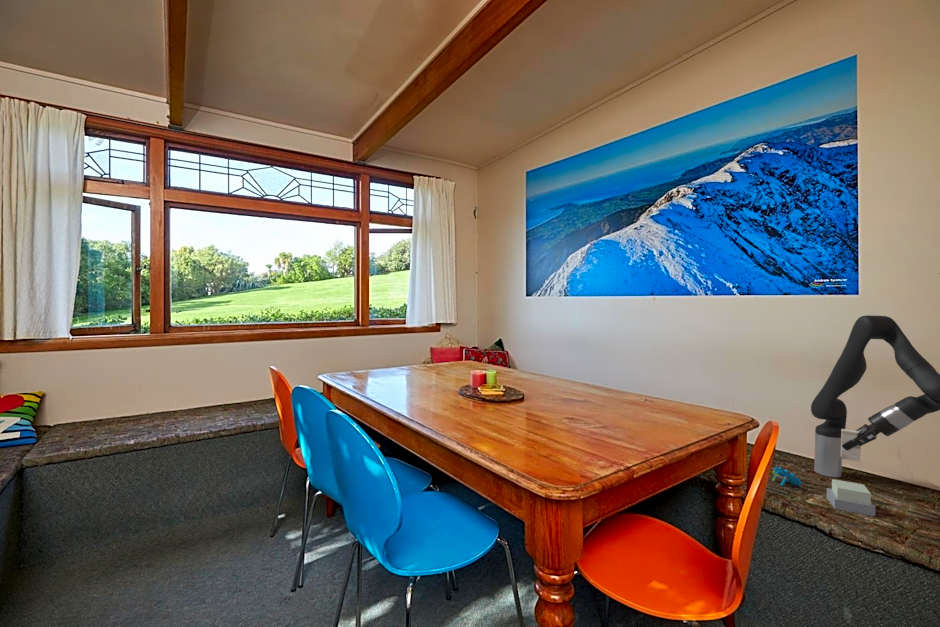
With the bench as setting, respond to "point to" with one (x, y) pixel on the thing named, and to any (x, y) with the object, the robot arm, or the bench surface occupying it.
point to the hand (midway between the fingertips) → (843, 446)
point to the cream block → (853, 452)
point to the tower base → (850, 505)
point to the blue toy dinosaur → (785, 476)
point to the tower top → (851, 491)
